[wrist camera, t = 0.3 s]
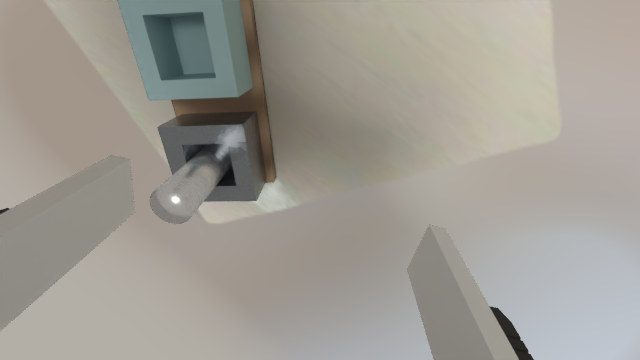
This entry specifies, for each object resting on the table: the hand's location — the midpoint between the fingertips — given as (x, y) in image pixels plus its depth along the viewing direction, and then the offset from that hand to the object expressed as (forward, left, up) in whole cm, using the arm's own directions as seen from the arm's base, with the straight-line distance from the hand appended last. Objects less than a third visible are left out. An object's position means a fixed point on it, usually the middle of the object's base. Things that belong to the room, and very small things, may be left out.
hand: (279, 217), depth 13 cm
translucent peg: (+6, -13, -25) cm, 29 cm away
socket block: (+6, -13, -26) cm, 30 cm away
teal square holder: (-7, -13, -26) cm, 30 cm away
